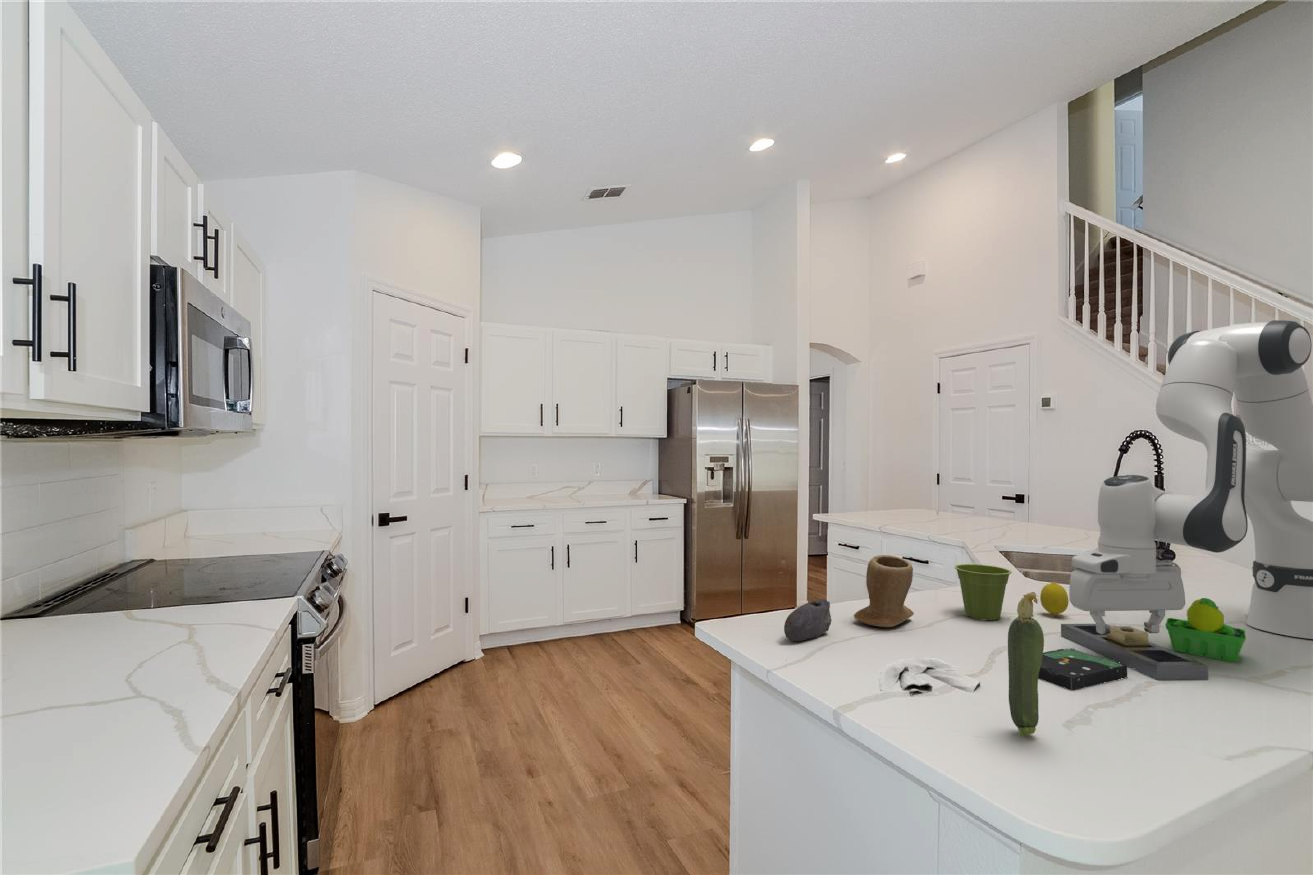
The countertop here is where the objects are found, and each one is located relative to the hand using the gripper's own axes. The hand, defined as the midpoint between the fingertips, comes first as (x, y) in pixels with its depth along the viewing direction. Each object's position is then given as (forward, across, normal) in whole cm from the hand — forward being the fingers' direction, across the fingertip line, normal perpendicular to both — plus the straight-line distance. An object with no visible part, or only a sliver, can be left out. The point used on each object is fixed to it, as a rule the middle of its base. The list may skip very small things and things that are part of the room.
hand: (1127, 633), depth 117 cm
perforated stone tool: (+4, +58, -12) cm, 60 cm away
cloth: (+5, +44, +12) cm, 46 cm away
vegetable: (+4, +39, +31) cm, 50 cm away
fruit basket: (+5, -15, 0) cm, 16 cm away
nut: (+4, 0, 0) cm, 4 cm away
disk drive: (+5, +17, +9) cm, 20 cm away
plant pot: (+4, +13, -26) cm, 30 cm away
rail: (+4, 0, 0) cm, 4 cm away
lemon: (+4, -4, -26) cm, 27 cm away
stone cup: (+4, +37, -22) cm, 44 cm away
